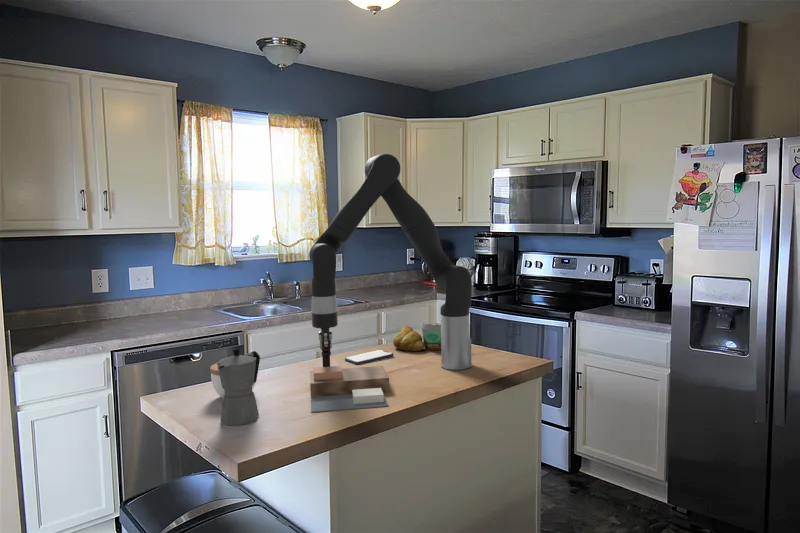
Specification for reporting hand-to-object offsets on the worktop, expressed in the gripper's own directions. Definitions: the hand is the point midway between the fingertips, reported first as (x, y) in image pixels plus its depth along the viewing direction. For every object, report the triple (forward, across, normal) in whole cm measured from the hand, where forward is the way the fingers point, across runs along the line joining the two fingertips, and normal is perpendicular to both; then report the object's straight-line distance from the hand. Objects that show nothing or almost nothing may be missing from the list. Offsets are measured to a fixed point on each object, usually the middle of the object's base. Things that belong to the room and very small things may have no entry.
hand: (326, 367), depth 165 cm
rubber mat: (+5, -18, -5) cm, 20 cm away
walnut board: (+5, -6, -6) cm, 10 cm away
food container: (+5, +32, -41) cm, 52 cm away
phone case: (+6, +26, -16) cm, 31 cm away
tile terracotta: (0, -6, 0) cm, 6 cm away
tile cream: (+4, -18, -10) cm, 21 cm away
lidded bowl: (+5, -6, +26) cm, 27 cm away
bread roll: (+5, +36, -32) cm, 48 cm away
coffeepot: (+5, -24, +22) cm, 33 cm away
